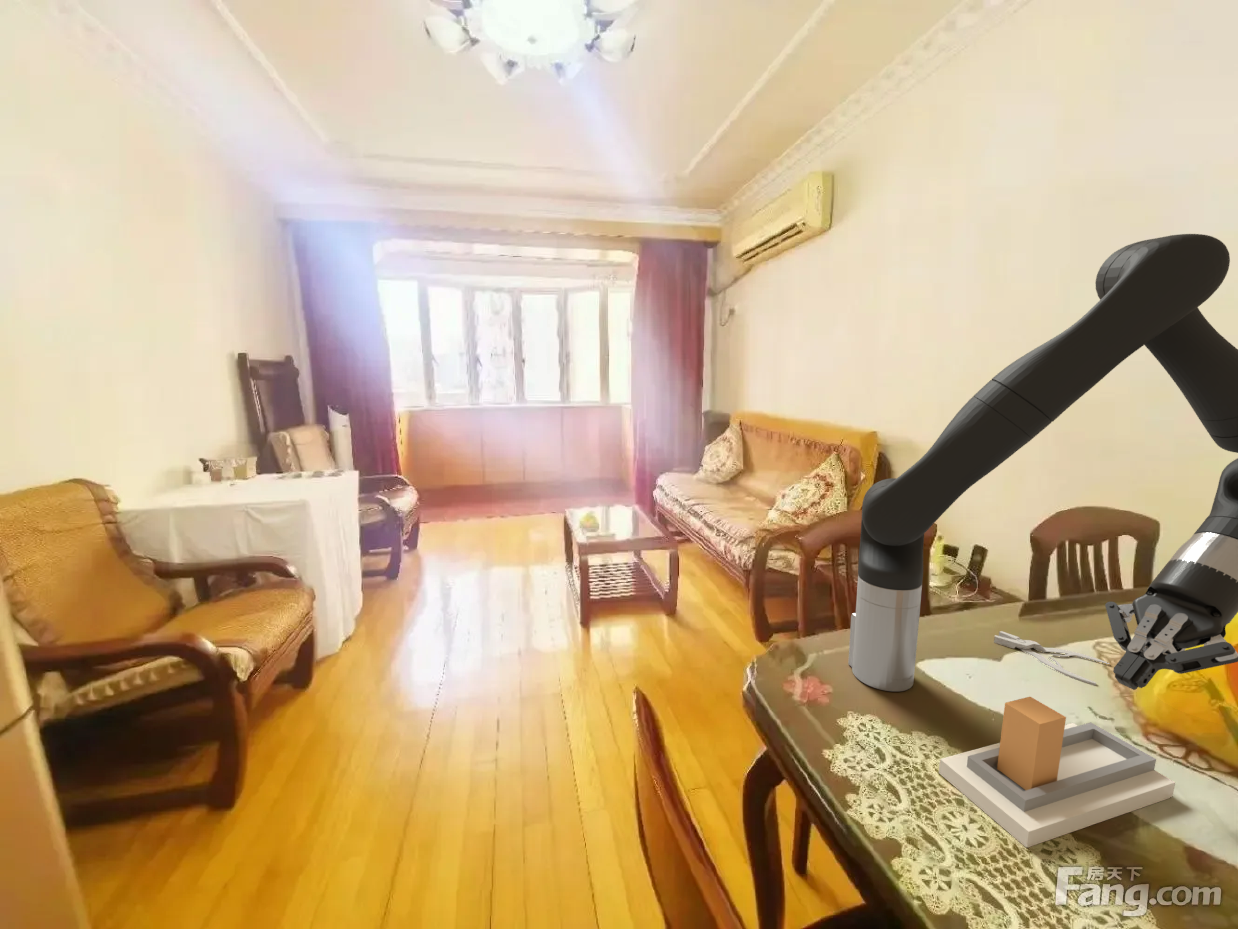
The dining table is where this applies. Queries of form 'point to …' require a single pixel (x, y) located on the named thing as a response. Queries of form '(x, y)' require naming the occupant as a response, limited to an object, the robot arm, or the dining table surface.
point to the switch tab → (1030, 743)
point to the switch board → (1062, 785)
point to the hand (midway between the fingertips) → (1124, 683)
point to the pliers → (1026, 647)
